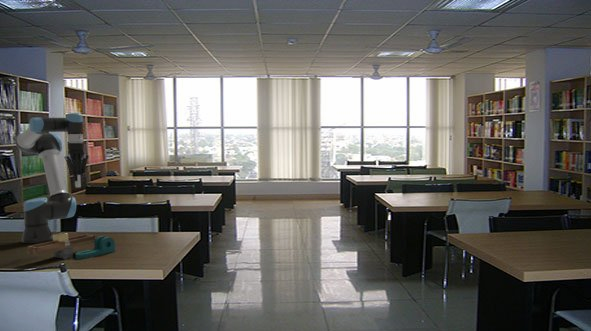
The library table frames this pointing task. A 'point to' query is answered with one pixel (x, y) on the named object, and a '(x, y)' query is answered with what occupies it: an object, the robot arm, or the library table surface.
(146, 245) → the library table surface
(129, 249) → the library table surface
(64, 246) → the brown long open piece
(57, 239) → the block
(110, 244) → the bracket
